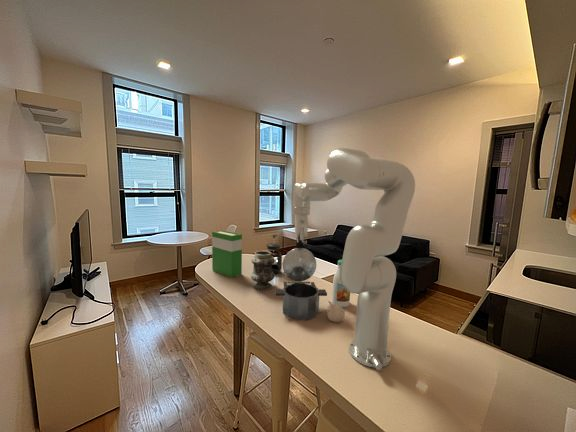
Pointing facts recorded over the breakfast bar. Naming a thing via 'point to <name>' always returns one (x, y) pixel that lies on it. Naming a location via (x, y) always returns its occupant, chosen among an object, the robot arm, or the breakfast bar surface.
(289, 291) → the cooker pot
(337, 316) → the garlic bulb
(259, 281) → the grey rounded vessel
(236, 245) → the green tissue carton
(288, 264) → the cooker lid
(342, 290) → the milk bottle
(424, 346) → the breakfast bar surface
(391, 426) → the breakfast bar surface
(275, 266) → the french press
